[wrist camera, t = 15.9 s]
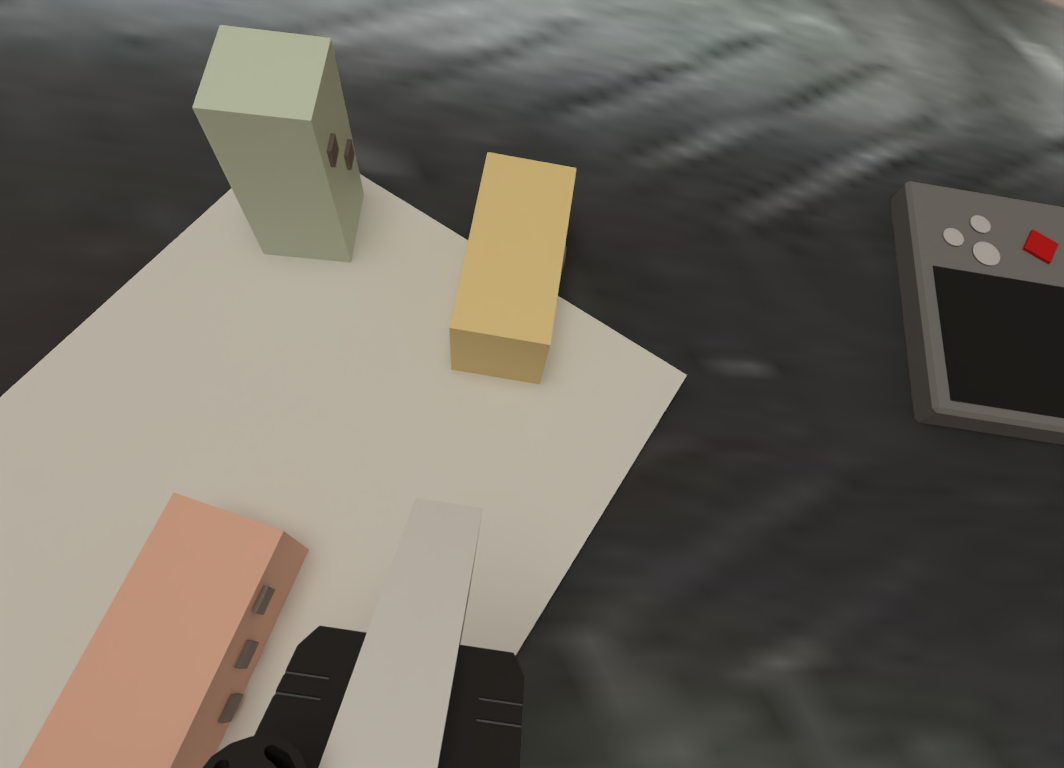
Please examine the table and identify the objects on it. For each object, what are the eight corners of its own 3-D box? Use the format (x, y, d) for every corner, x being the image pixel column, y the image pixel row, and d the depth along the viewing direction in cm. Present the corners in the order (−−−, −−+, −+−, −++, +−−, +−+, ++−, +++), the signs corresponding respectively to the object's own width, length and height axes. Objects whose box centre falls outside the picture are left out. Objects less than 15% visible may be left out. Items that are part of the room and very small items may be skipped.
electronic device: (1077, 204, 40) (1135, 440, 34) (1044, 228, 42) (1093, 454, 36) (908, 175, 40) (937, 409, 34) (884, 201, 42) (908, 425, 36)
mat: (174, 1211, 22) (166, 1226, 21) (-348, 726, 25) (-366, 728, 25) (683, 379, 35) (686, 375, 34) (295, 140, 39) (292, 132, 38)
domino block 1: (146, 831, 21) (288, 532, 25) (11, 781, 21) (173, 492, 25) (198, 803, 25) (313, 551, 29) (84, 762, 26) (214, 516, 29)
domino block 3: (554, 345, 29) (580, 169, 33) (449, 327, 29) (487, 152, 33) (543, 384, 33) (567, 223, 37) (451, 369, 33) (484, 208, 37)
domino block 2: (354, 263, 35) (316, 121, 26) (263, 254, 35) (192, 107, 26) (367, 194, 37) (335, 38, 28) (281, 184, 37) (220, 24, 27)
